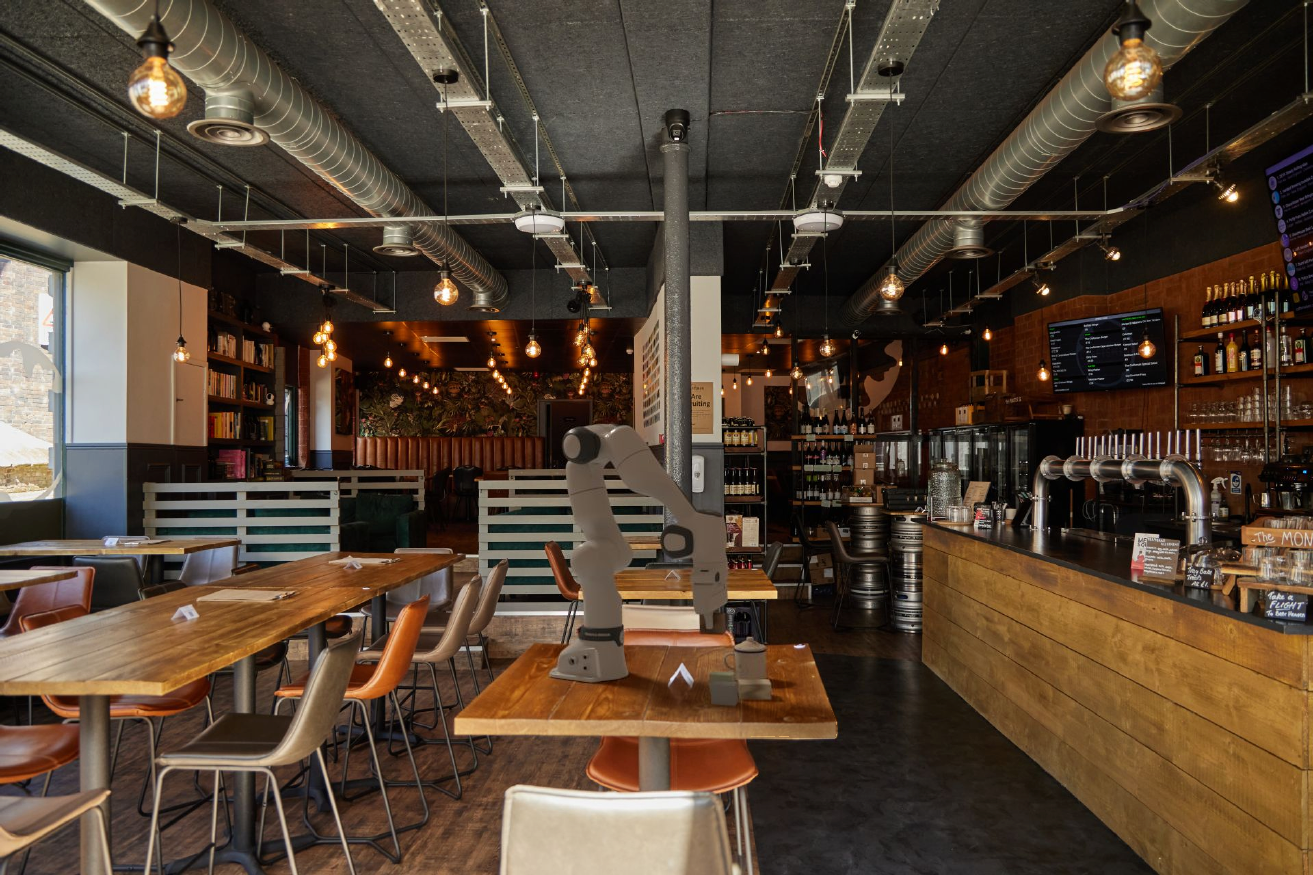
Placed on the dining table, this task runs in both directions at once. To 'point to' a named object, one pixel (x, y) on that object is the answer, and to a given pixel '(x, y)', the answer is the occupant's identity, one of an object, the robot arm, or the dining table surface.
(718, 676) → the sage block
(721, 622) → the walnut block
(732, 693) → the grey block
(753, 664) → the teacup with lid
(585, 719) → the dining table surface
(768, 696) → the maple block
